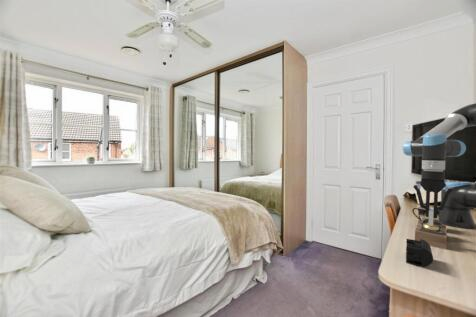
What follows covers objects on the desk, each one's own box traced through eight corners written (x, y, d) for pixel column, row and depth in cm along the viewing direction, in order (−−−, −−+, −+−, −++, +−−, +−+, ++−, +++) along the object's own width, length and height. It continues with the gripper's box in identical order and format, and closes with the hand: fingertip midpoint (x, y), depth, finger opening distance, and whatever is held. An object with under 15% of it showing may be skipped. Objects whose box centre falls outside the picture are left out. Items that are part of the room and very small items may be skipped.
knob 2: (423, 228, 100) (423, 222, 100) (438, 230, 96) (438, 225, 96) (422, 231, 96) (423, 225, 96) (438, 234, 93) (438, 228, 93)
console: (418, 230, 111) (418, 218, 111) (445, 235, 104) (446, 222, 104) (414, 242, 96) (415, 228, 96) (446, 249, 90) (446, 234, 89)
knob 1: (424, 217, 108) (425, 212, 108) (438, 219, 104) (439, 214, 104) (424, 219, 104) (424, 214, 104) (438, 222, 101) (439, 217, 101)
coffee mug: (443, 231, 110) (444, 211, 110) (423, 230, 112) (424, 210, 112) (428, 223, 122) (428, 205, 121) (410, 222, 123) (410, 204, 123)
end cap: (432, 270, 74) (433, 250, 73) (406, 263, 78) (406, 244, 78) (430, 259, 81) (431, 240, 81) (406, 253, 86) (406, 236, 86)
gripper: (412, 169, 97) (410, 223, 98) (454, 172, 88) (452, 231, 89) (414, 169, 102) (412, 219, 103) (453, 171, 94) (451, 226, 94)
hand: (430, 225), depth 96 cm, fingers closed
